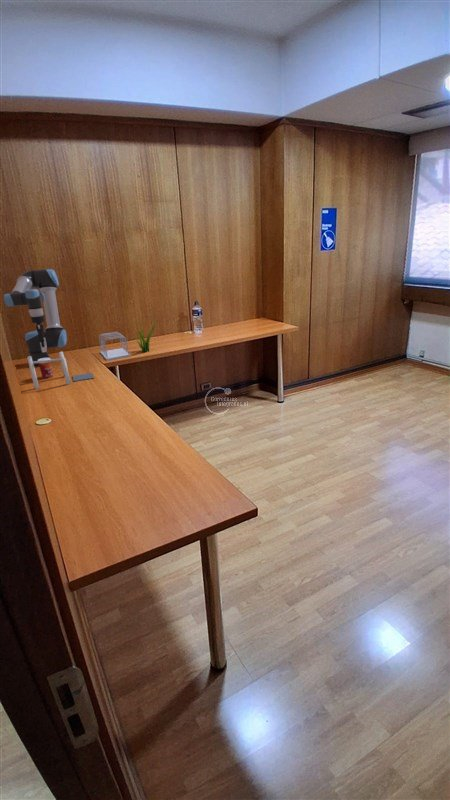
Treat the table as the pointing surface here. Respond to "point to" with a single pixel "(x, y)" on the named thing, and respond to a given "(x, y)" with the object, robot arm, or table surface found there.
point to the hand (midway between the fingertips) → (44, 350)
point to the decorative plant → (145, 343)
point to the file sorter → (115, 352)
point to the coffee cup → (46, 368)
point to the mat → (83, 377)
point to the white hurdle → (62, 359)
